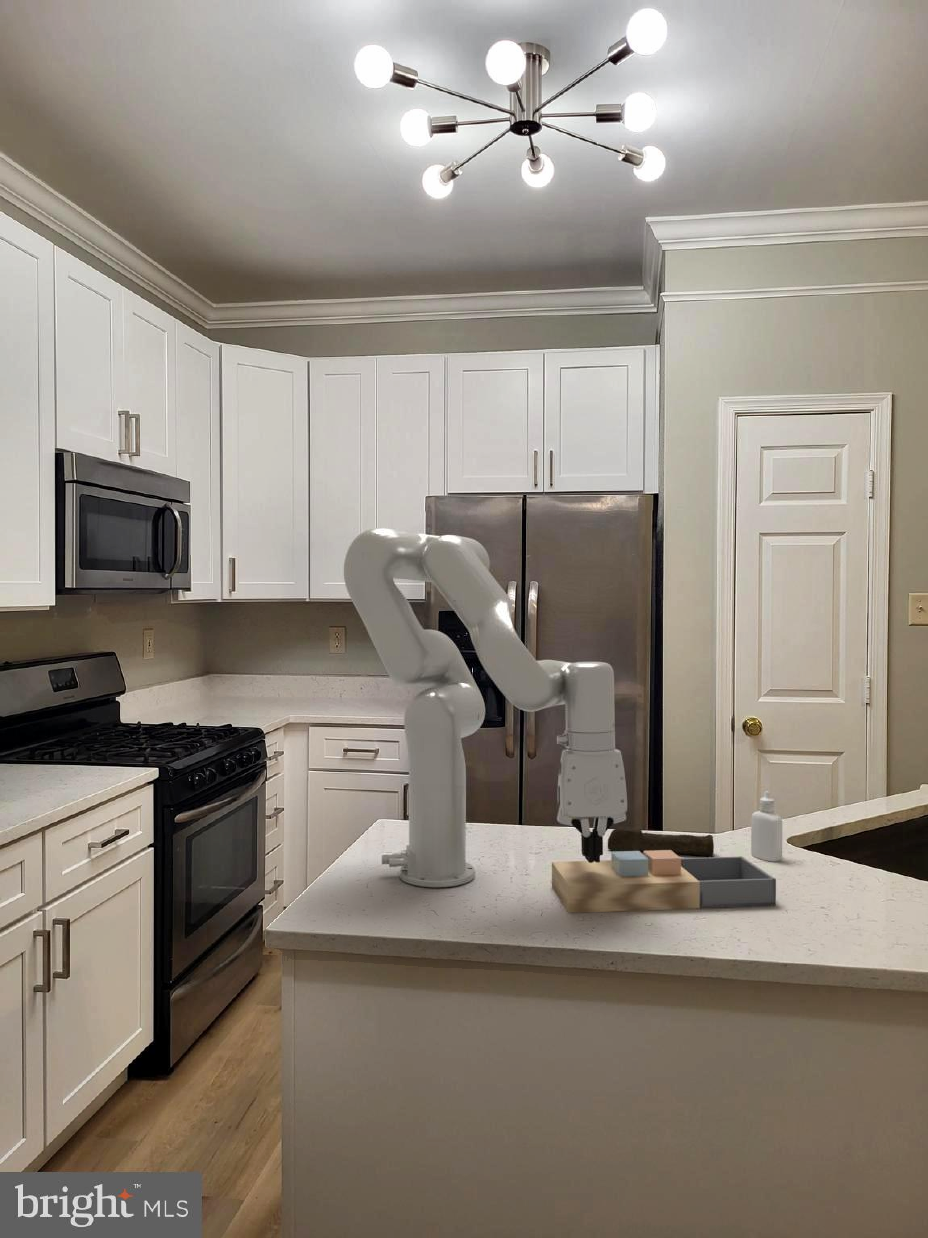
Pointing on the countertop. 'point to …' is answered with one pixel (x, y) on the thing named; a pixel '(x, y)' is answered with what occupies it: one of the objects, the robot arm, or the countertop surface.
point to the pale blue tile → (629, 863)
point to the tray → (731, 882)
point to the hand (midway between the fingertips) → (592, 860)
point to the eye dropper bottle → (766, 831)
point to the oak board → (621, 889)
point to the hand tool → (659, 842)
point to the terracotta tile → (663, 862)
